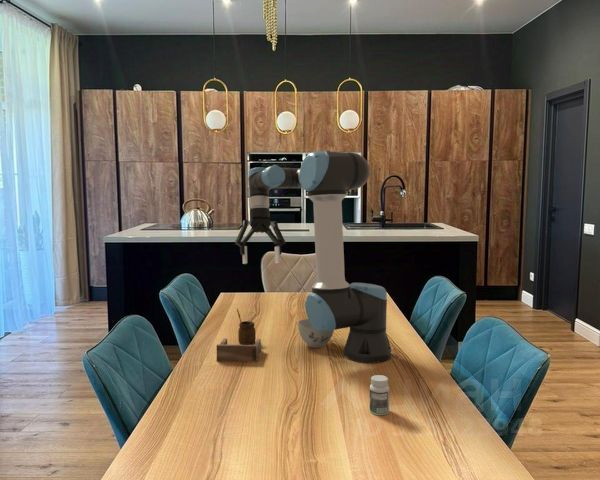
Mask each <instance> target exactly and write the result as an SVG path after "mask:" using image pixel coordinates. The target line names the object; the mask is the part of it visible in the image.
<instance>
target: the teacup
mask: <svg viewBox="0 0 600 480" xmlns="http://www.w3.org/2000/svg"><path fill="white" fill-rule="evenodd" d="M297 326H298V331H299V334H300V337H301V340H303V341H304V342H305V343H306V345H307V347H308V348H309V347H310V348H314V349H315V348H324V347H325V346H326V345H327V343H328V342H329V341H330V340H331V339H332V336H333V334H334V331H335V330H333V331H319V330H317V329H315V328H314V327H313V326H312V325H311V323H310V321H309V320H308V318H304V319H301V320H299V321H298V322H297Z"/></svg>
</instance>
